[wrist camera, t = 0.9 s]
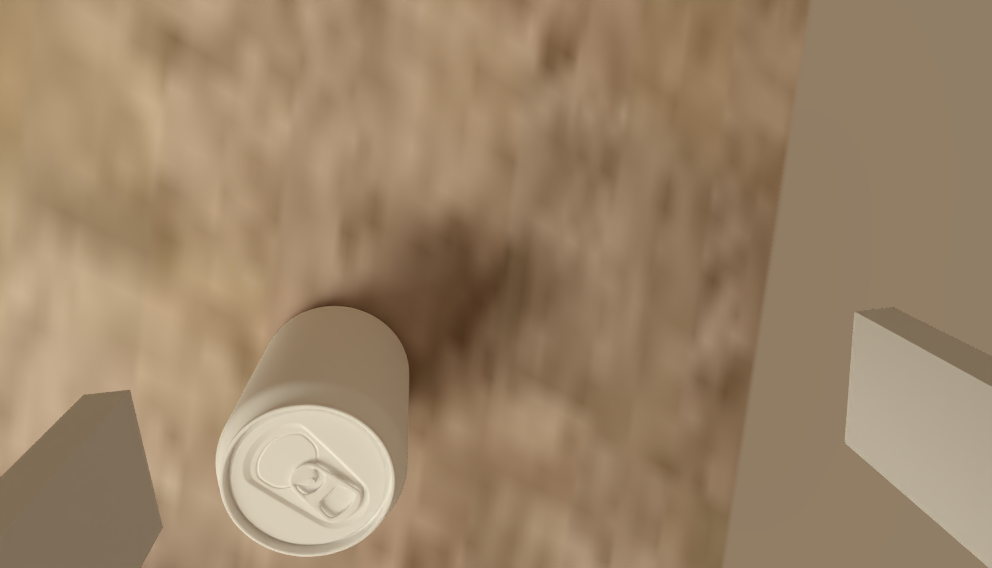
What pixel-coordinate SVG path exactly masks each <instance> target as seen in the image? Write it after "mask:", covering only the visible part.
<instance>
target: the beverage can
mask: <svg viewBox="0 0 992 568" xmlns="http://www.w3.org/2000/svg"><path fill="white" fill-rule="evenodd" d="M408 412H409V365H408V360H407V356H406V353H405V350H404V348H403V346H402V344H401V342H400V340H399V339H398V337H397V336H396V335H395V334H394V332H393V331H392V330H391V329H390V328H389V327H388V326H387V325H386V324H385V323H383V322H382V321H381V320H379V319H378V318H376V317H374V316H373V315H371V314H369V313H366V312H364V311H361V310H358V309H355V308H350V307H344V306H325V307H319V308H315V309H311V310H308V311H305V312H303V313H301V314H299V315H297V316H295V317H294V318H292V319H290V320H289V321H288V322H287V323H285V324H284V325H283V326H282V327H281V328H280V329H279V330H278V331H277V332H276V334H275V335H274V336H273V338H272V339H271V341H270V343H269V345H268V346H267V348H266V350H265V352H264V354H263V356H262V358H261V360H260V361H259V363H258V365H257V367H256V369H255V371H254V373H253V374H252V376H251V378H250V380H249V382H248V384H247V386H246V388H245V389H244V391H243V393H242V395H241V397H240V399H239V401H238V402H237V404H236V406H235V408H234V410H233V412H232V414H231V416H230V417H229V419H228V421H227V423H226V425H225V427H224V429H223V431H222V434H221V436H220V439H219V443H218V447H217V453H216V473H217V479H218V483H219V487H220V492H221V496H222V500H223V503H224V505H225V508H226V510H227V512H228V514H229V515H230V517H231V519H232V520H233V521H234V523H235V524H236V525H237V526H238V527H239V528H240V530H241V531H243V532H244V533H245V534H246V535H247V536H248V537H250V538H251V539H252V540H254V541H255V542H257V543H259V544H260V545H262V546H264V547H266V548H269V549H271V550H274V551H276V552H280V553H283V554H288V555H293V556H306V557H309V556H322V555H328V554H332V553H336V552H339V551H342V550H345V549H347V548H349V547H351V546H353V545H355V544H357V543H358V542H360V541H362V540H363V539H364V538H366V537H367V536H368V535H369V534H371V533H372V532H373V531H374V530H375V529H376V528H377V526H378V525H379V524H380V523H381V521H382V520H383V519H384V518H385V517H386V516H387V514H388V513H389V512H390V511H391V509H392V508H393V507H394V505H395V503H396V502H397V500H398V498H399V496H400V494H401V491H402V489H403V486H404V483H405V479H406V474H407V460H408Z"/></svg>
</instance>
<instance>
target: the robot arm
mask: <svg viewBox="0 0 992 568" xmlns="http://www.w3.org/2000/svg"><path fill="white" fill-rule="evenodd" d="M845 443H846V444H847V445H848V446H849V447H850V448H852V449H853V450H854V451H855V452H856V453H857V454H858V455H860V456H861V457H862V458H863V459H864V460H865V461H867V462H868V463H869V464H870V465H871V466H872V467H874V468H875V469H876V470H877V471H878V472H879V473H880V474H882V475H883V476H884V477H885V478H886V479H887V480H888V481H890V482H891V483H892V484H893V485H894V486H895V487H897V488H898V489H899V490H900V491H901V492H902V493H904V494H905V495H906V496H907V497H908V498H909V499H910V500H912V501H913V502H914V503H915V504H916V505H917V506H919V507H920V508H921V509H922V510H923V511H924V512H925V513H926V514H928V515H929V516H930V517H931V518H932V519H933V520H935V521H936V522H937V523H938V524H939V525H940V526H942V527H943V528H944V529H945V530H946V531H947V532H948V533H950V534H951V535H952V536H953V537H954V538H955V539H956V540H958V541H959V542H960V543H961V544H962V545H964V546H965V547H966V548H967V549H968V550H969V551H970V552H971V553H973V554H974V555H975V556H976V557H977V558H978V559H980V560H981V561H982V562H983V563H984V564H985V565H986V566H988V567H989V568H992V356H991V355H989V354H986V353H985V352H982V351H981V350H978V349H977V348H975V347H972V346H970V345H968V344H966V343H964V342H962V341H960V340H958V339H956V338H954V337H952V336H950V335H948V334H946V333H944V332H942V331H940V330H938V329H936V328H934V327H932V326H930V325H928V324H926V323H924V322H922V321H920V320H918V319H916V318H914V317H912V316H910V315H908V314H906V313H904V312H902V311H900V310H898V309H896V308H894V307H890V308H881V309H872V310H863V311H855V314H854V326H853V339H852V353H851V367H850V379H849V393H848V407H847V420H846V433H845ZM162 528H163V527H162V522H161V518H160V514H159V510H158V506H157V501H156V497H155V493H154V489H153V485H152V480H151V476H150V472H149V468H148V464H147V459H146V455H145V451H144V447H143V443H142V439H141V434H140V430H139V426H138V422H137V418H136V413H135V409H134V405H133V401H132V397H131V392H130V390H125V391H115V392H106V393H97V394H88V395H83V396H82V397H81V398H80V399H79V400H78V401H77V402H76V403H75V404H74V405H73V406H72V407H71V408H70V409H69V410H68V411H67V412H66V413H65V414H64V415H63V416H62V417H61V418H60V419H59V420H58V421H57V422H56V423H55V424H54V425H53V426H52V427H51V428H50V429H49V430H48V431H47V432H46V433H45V434H44V435H43V436H42V437H41V438H40V439H39V440H38V441H37V442H36V443H35V444H34V445H33V446H32V447H31V448H30V449H29V450H28V451H27V452H26V453H25V454H24V455H23V456H22V457H21V458H20V459H19V460H18V461H17V462H16V463H15V464H14V465H13V466H12V467H11V468H10V469H9V470H7V471H6V472H5V473H4V474H3V475H2V476H1V477H0V568H141V566H142V564H143V562H144V561H145V559H146V557H147V555H148V553H149V551H150V550H151V548H152V546H153V544H154V542H155V540H156V539H157V537H158V535H159V533H160V531H161V529H162Z"/></svg>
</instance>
